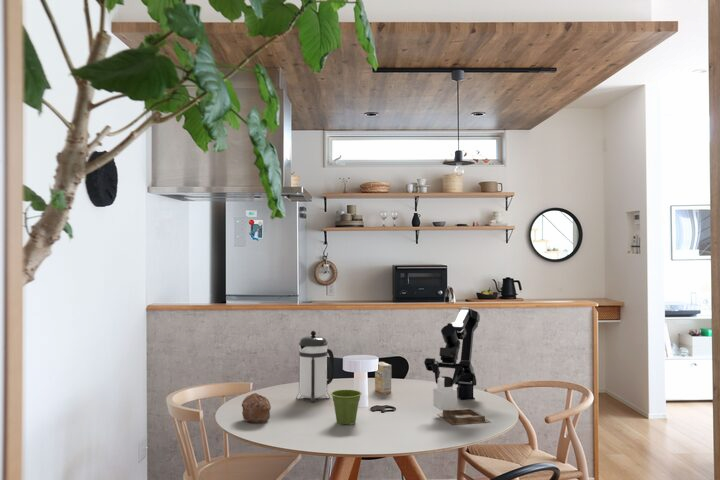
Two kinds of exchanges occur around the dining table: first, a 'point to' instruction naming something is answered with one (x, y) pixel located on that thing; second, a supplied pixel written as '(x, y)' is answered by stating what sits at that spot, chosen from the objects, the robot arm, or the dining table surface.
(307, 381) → the coffee press
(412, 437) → the dining table surface
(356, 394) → the plant pot
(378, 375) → the supplement box
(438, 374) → the robot arm
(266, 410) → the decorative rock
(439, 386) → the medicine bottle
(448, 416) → the walnut dock
